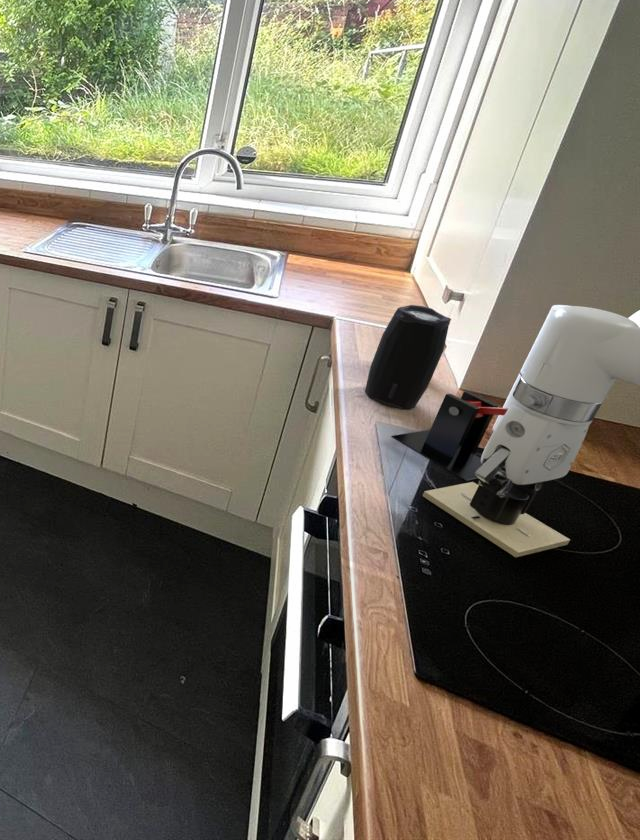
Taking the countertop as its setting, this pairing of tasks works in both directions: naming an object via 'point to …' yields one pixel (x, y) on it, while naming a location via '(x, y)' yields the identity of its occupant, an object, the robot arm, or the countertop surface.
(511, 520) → the knob
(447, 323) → the portable speaker
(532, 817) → the countertop surface
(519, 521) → the panel
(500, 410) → the lever
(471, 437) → the black lever stand
